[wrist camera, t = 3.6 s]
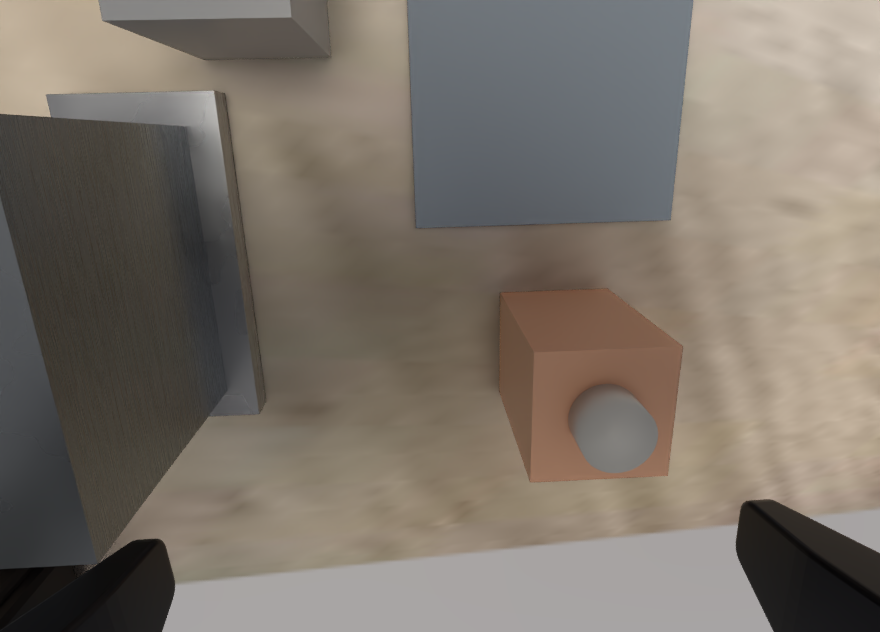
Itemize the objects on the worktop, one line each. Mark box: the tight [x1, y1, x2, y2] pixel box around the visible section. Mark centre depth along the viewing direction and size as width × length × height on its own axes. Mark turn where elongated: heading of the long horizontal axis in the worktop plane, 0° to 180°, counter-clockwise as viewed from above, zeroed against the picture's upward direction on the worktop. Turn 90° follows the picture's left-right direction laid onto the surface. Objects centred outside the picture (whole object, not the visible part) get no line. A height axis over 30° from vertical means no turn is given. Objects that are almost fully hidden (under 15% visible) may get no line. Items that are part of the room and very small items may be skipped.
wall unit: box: [0, 91, 266, 569], centre depth 15 cm, size 5×11×10 cm, turn 2°
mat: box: [407, 0, 693, 228], centre depth 18 cm, size 9×9×1 cm
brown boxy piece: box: [499, 289, 683, 482], centre depth 17 cm, size 4×4×7 cm
